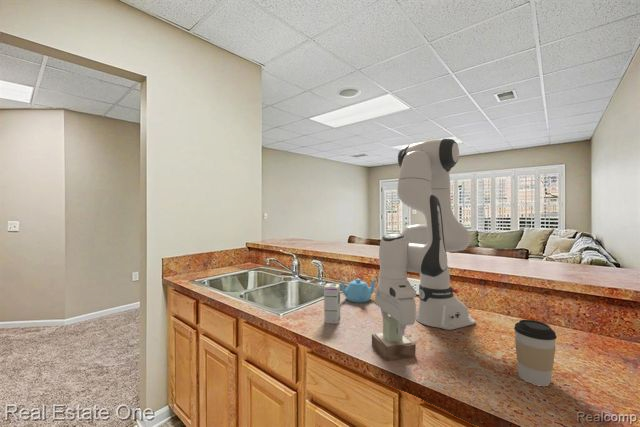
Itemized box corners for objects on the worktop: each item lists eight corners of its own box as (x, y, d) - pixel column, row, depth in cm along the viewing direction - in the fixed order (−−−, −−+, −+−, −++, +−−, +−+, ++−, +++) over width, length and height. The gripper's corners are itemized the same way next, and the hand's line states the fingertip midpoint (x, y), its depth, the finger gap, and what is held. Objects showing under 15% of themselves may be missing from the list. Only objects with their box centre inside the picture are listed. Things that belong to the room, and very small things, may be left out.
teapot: (352, 293, 153) (352, 274, 153) (379, 298, 145) (378, 278, 145) (338, 300, 141) (338, 280, 141) (365, 306, 133) (365, 284, 133)
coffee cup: (537, 369, 81) (537, 316, 81) (565, 389, 72) (566, 329, 72) (505, 369, 81) (506, 316, 80) (530, 390, 71) (531, 330, 71)
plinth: (399, 341, 98) (399, 329, 98) (415, 356, 88) (415, 343, 88) (371, 344, 95) (371, 332, 95) (385, 360, 86) (385, 347, 86)
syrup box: (338, 324, 113) (338, 287, 112) (323, 322, 114) (323, 286, 114) (340, 318, 118) (340, 283, 118) (326, 317, 119) (326, 282, 119)
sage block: (395, 334, 94) (395, 316, 94) (402, 340, 90) (402, 321, 90) (382, 335, 93) (382, 317, 93) (389, 341, 89) (389, 322, 89)
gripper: (370, 278, 101) (370, 317, 101) (400, 295, 81) (399, 343, 81) (386, 276, 102) (386, 315, 102) (419, 293, 82) (419, 341, 83)
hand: (392, 328), depth 92 cm, fingers open, 8 cm apart
